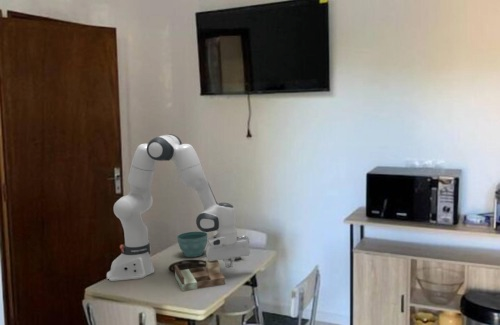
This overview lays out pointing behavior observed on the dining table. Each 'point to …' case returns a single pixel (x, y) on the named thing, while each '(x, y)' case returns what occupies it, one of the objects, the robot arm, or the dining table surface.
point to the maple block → (212, 267)
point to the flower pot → (192, 243)
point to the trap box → (197, 278)
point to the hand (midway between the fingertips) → (229, 267)
